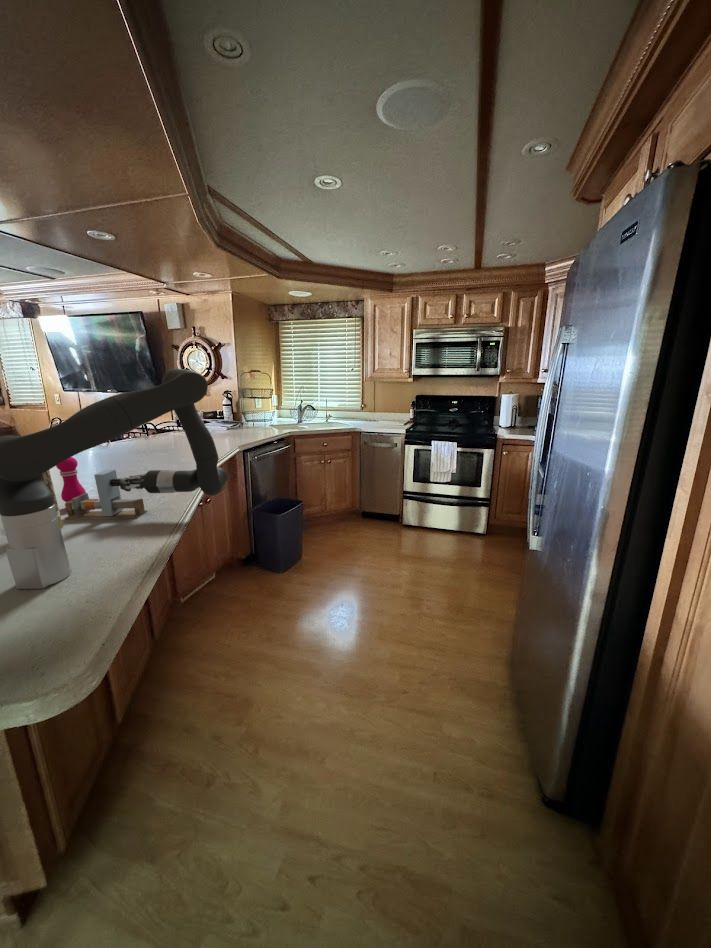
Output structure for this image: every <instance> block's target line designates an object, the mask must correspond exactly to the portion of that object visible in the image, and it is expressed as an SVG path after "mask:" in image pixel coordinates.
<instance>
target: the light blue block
mask: <svg viewBox="0 0 711 948" xmlns="http://www.w3.org/2000/svg"><path fill="white" fill-rule="evenodd" d="M93 475H94V480H95V485H96V490H97V494H98V500H100V504H101V509H100V510H101V511H102V513H103V516H113V515H115V514H116V513H118V512H120V511H124V508H122V509H112V504H111V499H122V495H121V491H120V486H111V484H110V480H112V479H118V477H117V471H116V469H104V470H103V471H100V472H98V473H95V474H93Z"/></svg>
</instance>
